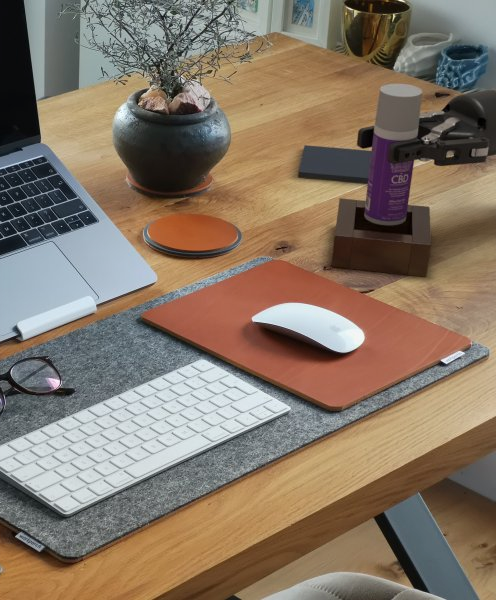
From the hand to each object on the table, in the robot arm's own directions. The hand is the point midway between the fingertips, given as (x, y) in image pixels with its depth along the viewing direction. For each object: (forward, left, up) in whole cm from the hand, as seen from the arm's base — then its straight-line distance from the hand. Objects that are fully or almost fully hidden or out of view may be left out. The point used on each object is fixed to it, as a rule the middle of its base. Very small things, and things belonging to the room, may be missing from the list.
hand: (375, 146), depth 122 cm
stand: (-2, -2, -13) cm, 14 cm away
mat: (+4, -27, -13) cm, 30 cm away
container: (-2, -2, -9) cm, 10 cm away
